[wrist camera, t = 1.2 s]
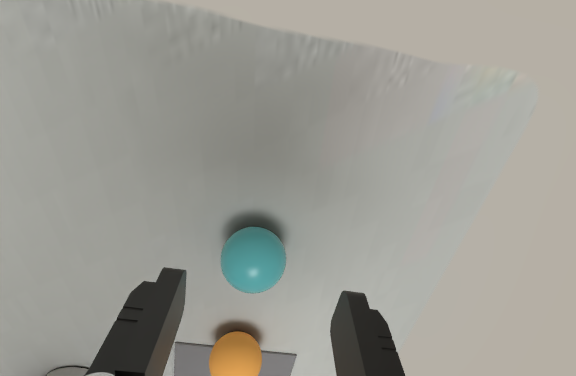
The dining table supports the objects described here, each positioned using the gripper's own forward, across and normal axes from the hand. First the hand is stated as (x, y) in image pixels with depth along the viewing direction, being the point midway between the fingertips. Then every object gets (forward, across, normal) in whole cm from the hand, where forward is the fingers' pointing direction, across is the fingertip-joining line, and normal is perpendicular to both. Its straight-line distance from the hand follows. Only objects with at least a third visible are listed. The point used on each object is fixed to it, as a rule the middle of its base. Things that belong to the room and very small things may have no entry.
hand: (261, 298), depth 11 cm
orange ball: (+13, 0, +23) cm, 27 cm away
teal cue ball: (+13, 0, +10) cm, 16 cm away
